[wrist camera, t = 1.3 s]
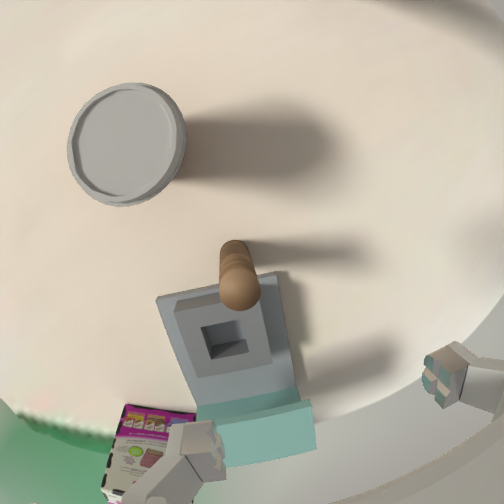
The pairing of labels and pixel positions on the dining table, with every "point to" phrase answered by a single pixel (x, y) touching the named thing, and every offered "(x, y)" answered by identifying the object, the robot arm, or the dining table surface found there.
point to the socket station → (240, 372)
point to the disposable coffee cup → (126, 144)
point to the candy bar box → (137, 447)
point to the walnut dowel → (237, 277)
